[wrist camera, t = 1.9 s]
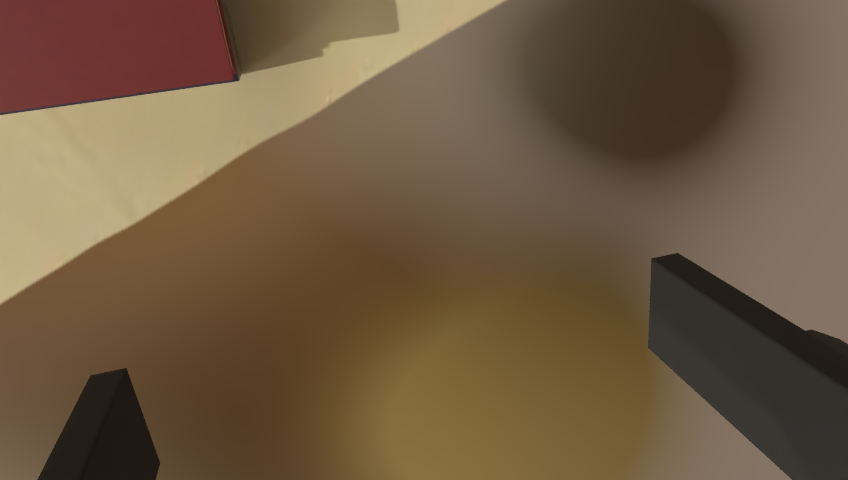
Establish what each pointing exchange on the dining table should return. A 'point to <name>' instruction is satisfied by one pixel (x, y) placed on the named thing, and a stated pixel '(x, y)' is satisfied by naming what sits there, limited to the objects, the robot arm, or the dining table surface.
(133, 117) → the dining table surface
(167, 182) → the dining table surface
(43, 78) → the encyclopedias
